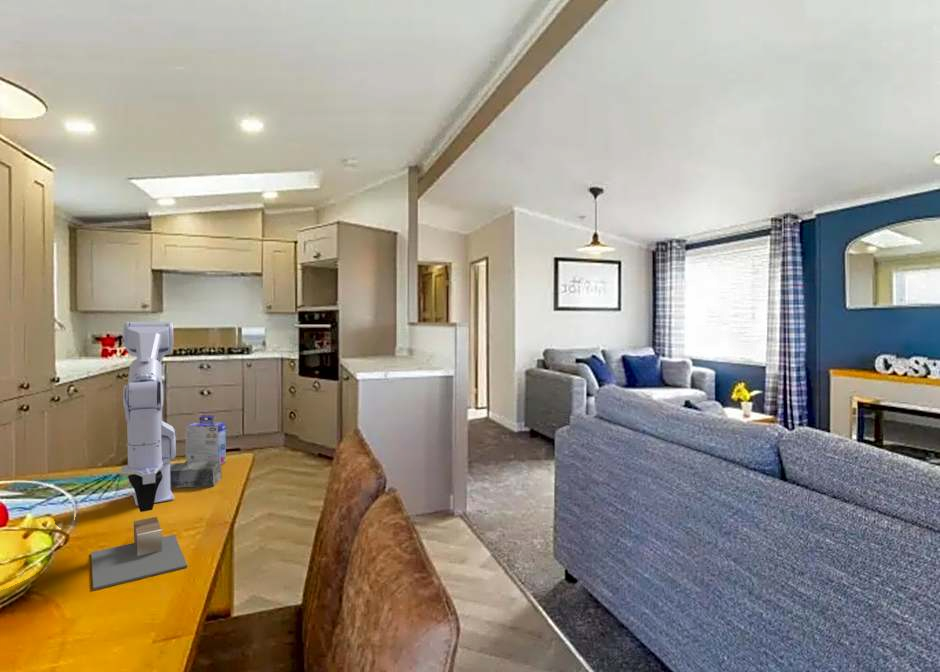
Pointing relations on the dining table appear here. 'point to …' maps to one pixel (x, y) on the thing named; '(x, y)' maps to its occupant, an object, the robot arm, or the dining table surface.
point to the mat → (134, 563)
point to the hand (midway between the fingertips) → (146, 510)
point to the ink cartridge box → (206, 441)
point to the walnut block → (147, 536)
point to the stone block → (195, 474)
